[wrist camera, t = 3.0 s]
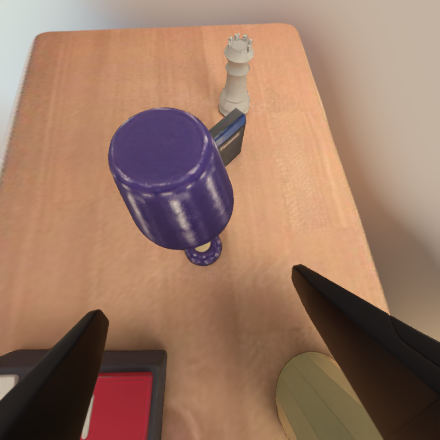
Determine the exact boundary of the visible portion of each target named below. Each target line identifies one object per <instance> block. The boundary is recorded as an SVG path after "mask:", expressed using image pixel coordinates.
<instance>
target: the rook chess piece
mask: <svg viewBox="0 0 440 440" xmlns="http://www.w3.org/2000/svg"><path fill="white" fill-rule="evenodd" d="M247 39H248V35H245V34H244V35H243V39H239V33H238V34H235V38H234V40H233V37H232V36H230V38H229V42H228V45H227V46H226V48H225V51H224V54H225V57H226V58H227V60H228V63H227V64H226V70H227V79H226V85H225V87H224V88H223V91H222V92H221V94H220V98H219V110H220V112H221V113H222V114H223V115H224V116H227V115H228V114H229V113H230V112H231V111H233V110H234V109H235V108H237V109H239V110H240V111H241V112H243V113H244V114H246V113H247V112H248V110H249V103H250V97H249V94H248V91H247V88H246V80H247V73H248V72H249V68H250V67H249V64H248V62H249V61H250V60H251V59H252V57H253V56H254V51H253V48H252V40H251V38H250V39H248V41H247Z"/></svg>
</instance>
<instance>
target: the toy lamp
mask: <svg viewBox="0 0 440 440" xmlns="http://www.w3.org/2000/svg"><path fill="white" fill-rule="evenodd" d="M108 161H109V167H110V171H111V173H112V175H113V178H114V180H115V183H116V185H117V187H118V189H119V191H120V194H121V196H122V198H123V200H124V202H125V204H126V206H127V208H128V210H129V212H130V214H131V216H132V218H133V220H134V222H135V224H136V225H137V227H138V228H139V230H140V231H141V232H142V233H143V235H145V236H146V237H147V238H148V239H149V240H151V241H152V242H154V243H155V244H157V245H159V246H162V247H164V248H167V249H174V250H185V254H186V256H187V258H188V259H189V260H190V261H191V262H192V263H194V264H196V265H200V266H207V265H210V264H212V263H213V262H215V261H216V260H217V259H218V257H219V256H220V253H221V250H222V244H221V240H220V238H219V236H218V235H219V234H220V233H221V232H222V231H223V230H224V229H225V227H226V225H227V224H228V222H229V220H230V218H231V215H232V211H233V203H234V197H233V189H232V185H231V182H230V180H229V177H228V174H227V171H226V169H225V166H224V163H223V161H222V158H221V156H220V153H219V151H218V148H217V146H216V143H215V141H214V139H213V137H212V135H211V134H210V132H209V131H208V129H207V128H206V126H205V125H204V124H203V123H202V122H201V121H200V120H199V119H198V118H196V117H195V116H193V115H191V114H190V113H187V112H185V111H182V110H178V109H174V108H153V109H149V110H146V111H143V112H141V113H138V114H136V115H134V116H132V117H130V118H129V119H128V120H126V121H125V122H124V123H123V124H122V125H121V126H120V127H119V128H118V129H117V131H116V132H115V134H114V136H113V138H112V140H111V143H110V147H109V154H108Z"/></svg>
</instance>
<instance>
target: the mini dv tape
mask: <svg viewBox="0 0 440 440" xmlns="http://www.w3.org/2000/svg"><path fill="white" fill-rule="evenodd" d="M245 124H246V117H245V114H244V113H243V112H241V111H240V110H239V109H237V108H235V109H234V110H233V111H231V112H230V113H229V114H228V115H227V116H225V117H224V118H223V119H222V120H221V121H220V122H218V123H217V124H216V125H215V126H214V127H212V128H211V129H210V130H209V132H210V134H211V135H212V137H213V139H214V141H215V143H216V146H217V148H218V151H219V153H220V156H221V158H222V161H223V163H224V166H226V165H227V164H229V163H230V162H231V161H232V160H233V159H234V158H235V157H236V156H237V155H238V154H239V153H240V151H241V146H242V141H243V135H244V130H245Z"/></svg>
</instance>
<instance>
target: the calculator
mask: <svg viewBox="0 0 440 440" xmlns="http://www.w3.org/2000/svg"><path fill="white" fill-rule="evenodd" d="M49 351H50V350H16V351H13V352H10V353H8V354H5V355H3V356H0V400H1V399H2V398H3V397H4V396H5V395H6V394H7V393H8V392H9V391H10V390H11V389H12V388H13V387H14V386H15V385H16V384H17V383H18V382H19V381H20V380H21V379H22V378H23V377H24V376H25V375H26V374H27V373H28V372H29V371H30V370H31V369H32V368H33V367H34V366H35V365H36V364H37V363H38V362H39V361H40V360H41V359H42V358H43V357H44V356H45V355H46V354H47V353H48V352H49ZM166 362H167V353H166V352H165V351H161V350H160V351H104V354H103V359H102V363H101V367H100V371H99V374H98V378H97V382H96V385H95V389H94V392H93V396H92V399H91V403H90V406H89V410H88V413H87V417H86V420H85V424H84V427H83V431H82V434H81V438H80V440H160V439H161V427H162V414H163V401H164V388H165V375H166Z"/></svg>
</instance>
